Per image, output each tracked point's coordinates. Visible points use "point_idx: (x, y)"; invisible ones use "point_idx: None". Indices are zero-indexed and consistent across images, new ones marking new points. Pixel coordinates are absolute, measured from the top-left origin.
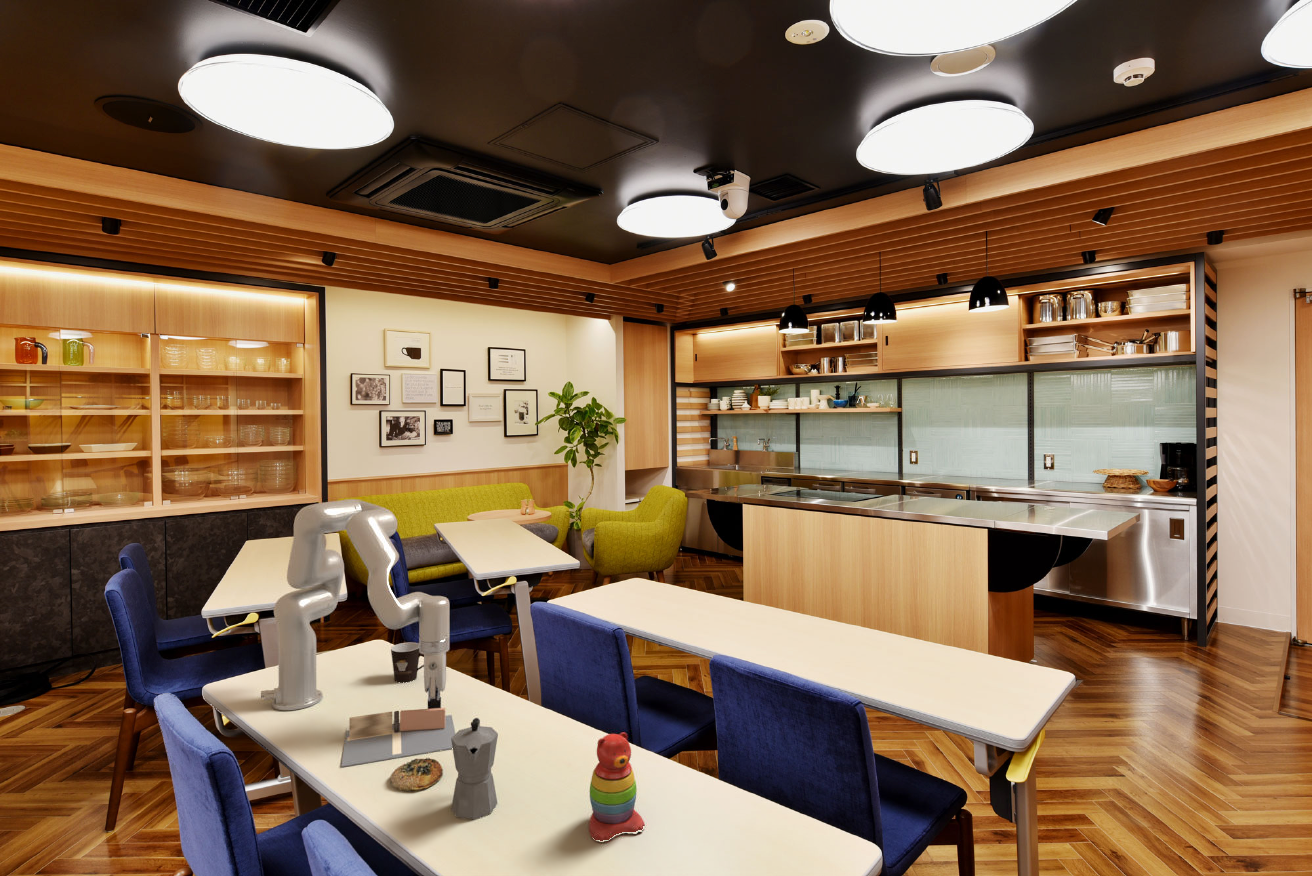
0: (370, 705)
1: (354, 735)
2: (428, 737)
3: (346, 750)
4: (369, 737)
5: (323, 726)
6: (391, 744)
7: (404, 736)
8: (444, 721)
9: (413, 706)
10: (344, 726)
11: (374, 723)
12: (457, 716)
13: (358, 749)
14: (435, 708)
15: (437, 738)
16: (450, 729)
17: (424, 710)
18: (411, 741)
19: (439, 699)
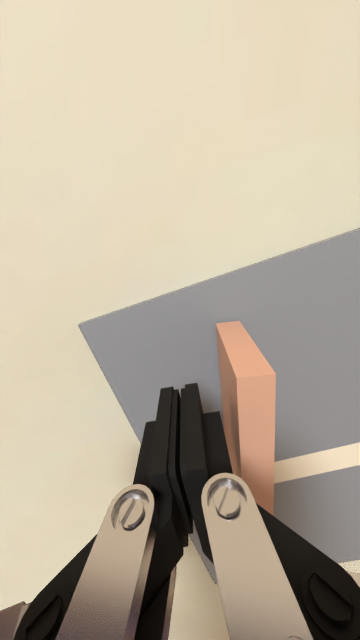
0: (38, 574)
1: None
2: (314, 367)
3: (345, 557)
4: None
5: (178, 617)
6: (342, 471)
7: (284, 450)
8: (247, 335)
9: (16, 480)
10: (179, 588)
11: None
12: (80, 293)
13: (349, 536)
14: (241, 438)
15: (335, 326)
16: (246, 289)
17: (266, 489)
18: (334, 418)
19: (205, 475)
